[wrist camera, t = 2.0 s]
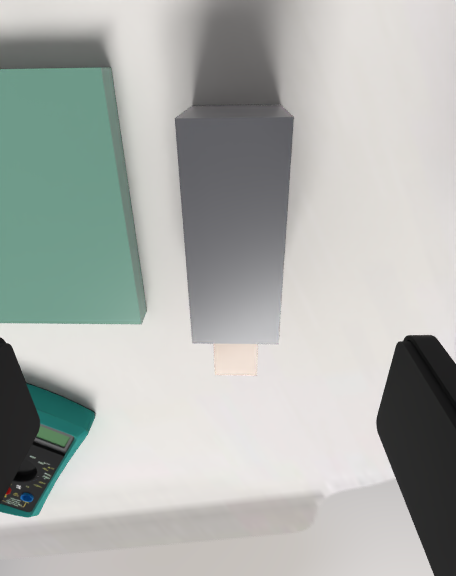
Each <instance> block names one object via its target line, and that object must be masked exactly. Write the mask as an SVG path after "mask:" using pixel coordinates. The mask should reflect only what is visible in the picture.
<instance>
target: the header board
mask: <svg viewBox="0 0 456 576" xmlns="http://www.w3.org/2000/svg"><path fill="white" fill-rule="evenodd" d="M146 312H147V309H146V303H145V296H144V289H143V282H142V275H141V269H140V262H139V255H138V248H137V241H136V234H135V228H134V221H133V214H132V207H131V200H130V194H129V187H128V180H127V173H126V166H125V159H124V153H123V146H122V139H121V132H120V125H119V119H118V112H117V105H116V98H115V91H114V84H113V78H112V71H111V67H98V68H39V69H0V323H57V324H142V322H143V319H144V317H145V314H146Z"/></svg>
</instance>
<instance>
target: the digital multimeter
mask: <svg viewBox="0 0 456 576" xmlns="http://www.w3.org/2000/svg"><path fill="white" fill-rule="evenodd" d="M26 384H27V383H26ZM27 387H28V389H29V392H30V395H31V397H32V400H33V402H34V405H35V407H36V410H37V413H38V415H39V418H40V428H39V432H38V434H37V436H36V438H35V440H34V442H33V444H32V445H31V447H30V449H29V451H28V453H27V455H26V457H25V459H24V461H23V462H22V464H21V466H20V468H19V470H18V472H17V474H16V476H15V478H14V479H13V481H12V483H11V485H10V487H9V489H8V491H7V493H6V494H5V496H4V498H3V500H2V502H1V504H0V512H3V513H7V514H12V515H16V516H22V517H32V516H37V515H38V514H39V513H40V511H41V509H42V507H43V505H44V503H45V501H46V499H47V497H48V495H49V493H50V491H51V490H52V488H53V486H54V484H55V482H56V480H57V479H58V477H59V476H60V474H61V473H62V471H63V469H64V468H65V466H66V465H67V463H68V462H69V460H70V459H71V457H72V456H73V454H74V453H75V452H76V450H77V449H78V447H79V446H80V445H81V443H82V442H83V440H84V439H85V438H86V436H87V435H88V433H89V430H90V428H91V426H92V423H93V421H94V419H95V413H94V412H93V411H91V410H89V409H87V408H85V407H83V406H81V405H79V404H77V403H75V402H73V401H70V400H68V399H66V398H64V397H62V396H59V395H57V394H54V393H52V392H49V391H47V390H44V389H42V388H39V387H36V386H33V385H30V384H27Z"/></svg>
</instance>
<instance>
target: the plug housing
mask: <svg viewBox="0 0 456 576" xmlns="http://www.w3.org/2000/svg"><path fill="white" fill-rule="evenodd" d="M293 119H294V117H293V116H292V115H291V114H290V113H289V112H288V111H287V110H286V109H285V108H284V107H283V106H282V105H207V106H191V107H190V108H188V109H187V110H186V111H184V112H183V113H182V114H180V115H179V116H177V117H176V118H175V126H176V139H177V152H178V165H179V177H180V190H181V203H182V216H183V229H184V242H185V254H186V267H187V280H188V293H189V306H190V319H191V331H192V343H207V344H214V366H215V375H245V376H257V355H258V344H279V329H280V314H281V299H282V284H283V269H284V254H285V239H286V224H287V209H288V194H289V179H290V164H291V149H292V134H293Z"/></svg>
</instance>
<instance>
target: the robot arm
mask: <svg viewBox="0 0 456 576" xmlns="http://www.w3.org/2000/svg"><path fill="white" fill-rule="evenodd" d="M376 424H377V431H378V434H379V437H380V439H381V442H382V444H383V447H384V449H385V452H386V454H387V457H388V459H389V462H390V464H391V467H392V469H393V472H394V475H395V477H396V480H397V482H398V485H399V487H400V490H401V492H402V495H403V497H404V500H405V502H406V505H407V507H408V510H409V512H410V515H411V518H412V520H413V522H414V525H415V528H416V530H417V533H418V535H419V538H420V540H421V543H422V545H423V548H424V550H425V553H426V556H427V558H428V561H429V563H430V566H431V568H432V571H433V573H434V576H456V364H455V362H454V361H453V360H452V358H451V357H450V356H449V354H448V353H447V352H446V350H445V349H444V348H443V346H442V345H441V344H440V342H439V341H438V340H437V338H435V337H434V336H432V335H408V336H406V337H405V338H404V340H403V342H398V343H397V345H396V348H395V352H394V355H393V359H392V363H391V367H390V370H389V374H388V378H387V381H386V385H385V389H384V393H383V396H382V400H381V404H380V408H379V411H378V415H377V420H376ZM39 428H40V418H39V415H38V413H37V410H36V407H35V405H34V402H33V400H32V397H31V395H30V392H29V389H28V387H27V384H26V382H25V379H24V377H23V374H22V371H21V369H20V366H19V364H18V361H17V358H16V356H15V353H14V351H13V348H12V346H11V345H10V344H8V343H6V342H5V341H4V340H3V339H2V338H0V504H1V502H2V500H3V498H4V496H5V494H6V493H7V491H8V489H9V487H10V485H11V483H12V481H13V479H14V478H15V476H16V474H17V472H18V470H19V468H20V466H21V464H22V462H23V461H24V459H25V457H26V455H27V453H28V451H29V449H30V447H31V445H32V444H33V442H34V440H35V438H36V436H37V434H38V432H39Z"/></svg>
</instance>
